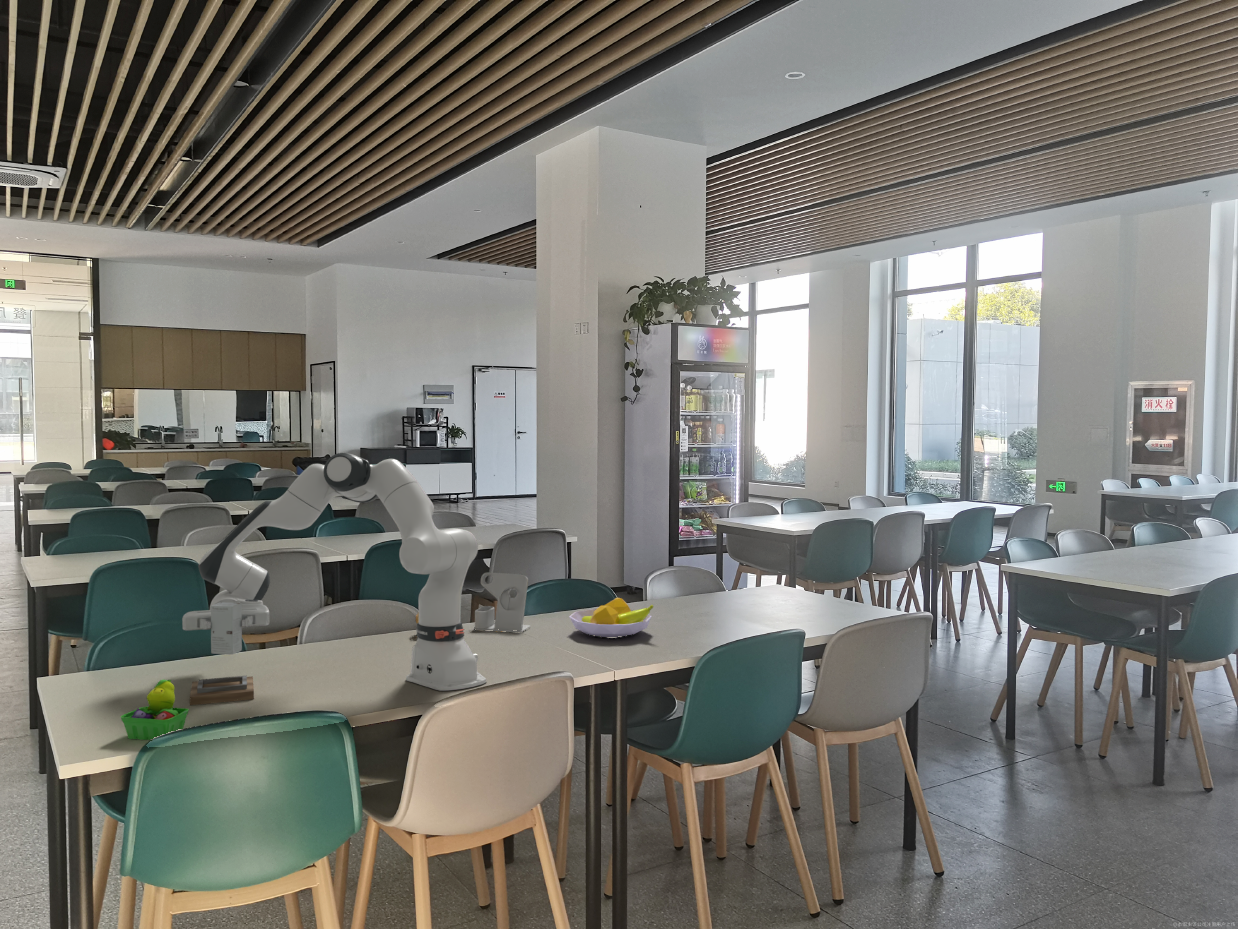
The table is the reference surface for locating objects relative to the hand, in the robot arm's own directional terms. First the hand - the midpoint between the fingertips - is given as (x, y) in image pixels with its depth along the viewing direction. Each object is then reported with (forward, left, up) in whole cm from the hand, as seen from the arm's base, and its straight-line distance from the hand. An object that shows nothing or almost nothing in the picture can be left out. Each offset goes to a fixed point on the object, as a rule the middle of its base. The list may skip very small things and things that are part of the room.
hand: (226, 625), depth 221 cm
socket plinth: (-1, +1, -17) cm, 17 cm away
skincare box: (+1, 0, -7) cm, 7 cm away
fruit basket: (-24, +20, -17) cm, 35 cm away
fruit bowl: (-4, -118, -17) cm, 119 cm away
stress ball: (+29, -70, -17) cm, 78 cm away
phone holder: (+24, -93, -17) cm, 98 cm away
